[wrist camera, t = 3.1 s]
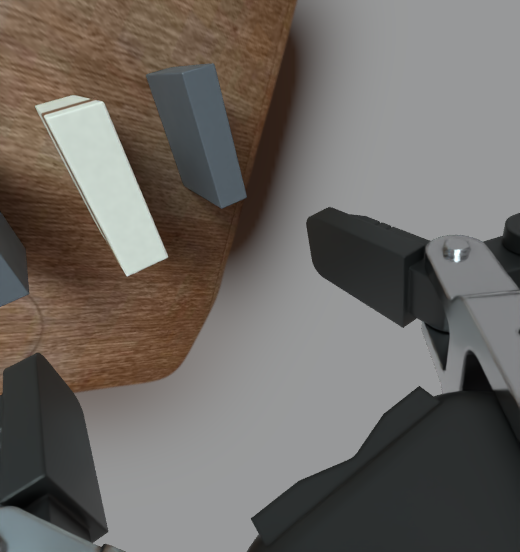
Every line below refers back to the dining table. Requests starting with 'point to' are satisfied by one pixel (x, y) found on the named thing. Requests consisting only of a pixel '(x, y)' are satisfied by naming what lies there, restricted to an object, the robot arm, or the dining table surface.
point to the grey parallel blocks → (185, 147)
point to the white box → (104, 179)
